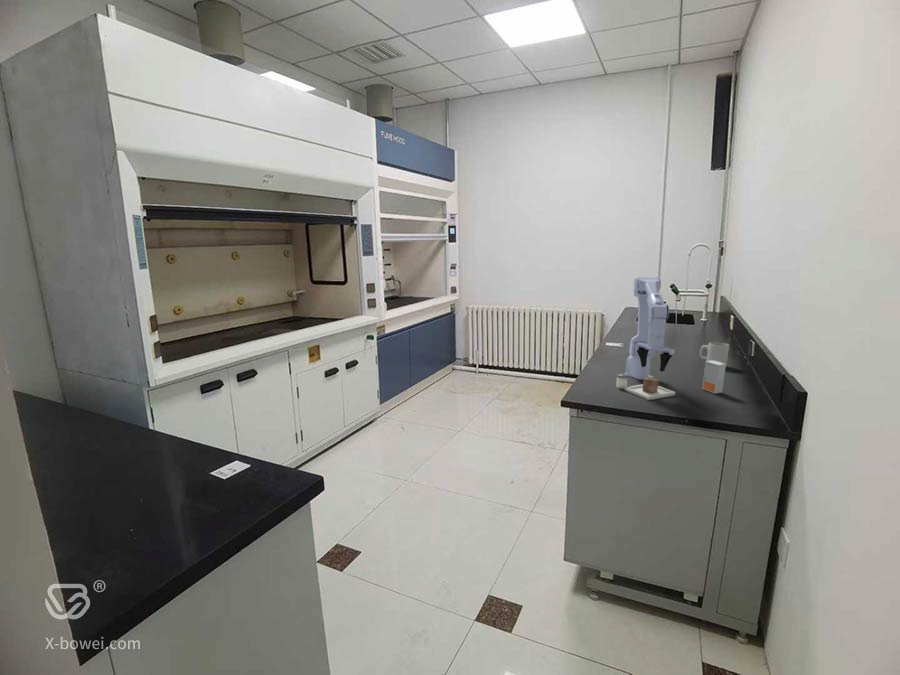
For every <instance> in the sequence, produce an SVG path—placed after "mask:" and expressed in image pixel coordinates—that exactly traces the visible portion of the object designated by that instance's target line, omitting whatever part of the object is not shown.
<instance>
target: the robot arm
mask: <svg viewBox="0 0 900 675" xmlns="http://www.w3.org/2000/svg"><path fill="white" fill-rule="evenodd" d="M661 285H662V280H661V277H660V276H636V277H635V278H634V281H633V296H634V297H635V298H637V300H638V301H637V302H638V307H637V308H638V310H637V331H636V332H637V334H636V335H634V336H633V337H632V338H631V339H630V340H629V341H630V343H629V349H628V351H629V356H628V357H627V358H626V361H625V362H626V363H625V364H626V365H625V372H624V373H623V374H626V375H628V377H631V378H634V379H636V380H637V379H638V380H644V379H645V378H646V377H652V378H654V376H652V375H650V365H651V359H652V358H653V357H654V356H655V354H656V353H659V356H660V366H659V371H660V372H661V373H662V372H665V369H666V367H667V365H668V363H669V361H670V359H671V358H672V356H673V355H675V352H676V350H675V349H674V348H671V347H668V346H664V341H665V333H666V324H667V320H668V319H669V315H670V307H669V304H667V303H665V301H664V299H663V297H662V295H661V294H660V293H659V292H660V290H661ZM660 353H661V354H660Z"/></svg>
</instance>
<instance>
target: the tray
mask: <svg viewBox="0 0 900 675" xmlns="http://www.w3.org/2000/svg"><path fill="white" fill-rule="evenodd" d="M624 391H625V392H627V393H630V394H632V395H634V396H637V397H639V398H642V399H643V400H646V401H651V400H657V399H663V398H668V397H674V396H676V391H675V390H672V389H669V388H666V387H663V386H661V385H658V391H657V392H655V393H653V394H651V393H648V392H644V391H643V383H642V384H636V385H631V386H627V387H625V389H624Z"/></svg>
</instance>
